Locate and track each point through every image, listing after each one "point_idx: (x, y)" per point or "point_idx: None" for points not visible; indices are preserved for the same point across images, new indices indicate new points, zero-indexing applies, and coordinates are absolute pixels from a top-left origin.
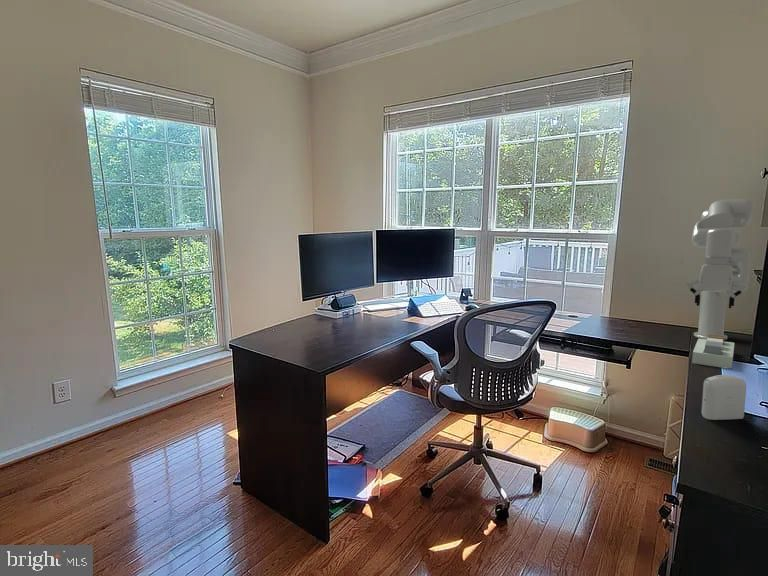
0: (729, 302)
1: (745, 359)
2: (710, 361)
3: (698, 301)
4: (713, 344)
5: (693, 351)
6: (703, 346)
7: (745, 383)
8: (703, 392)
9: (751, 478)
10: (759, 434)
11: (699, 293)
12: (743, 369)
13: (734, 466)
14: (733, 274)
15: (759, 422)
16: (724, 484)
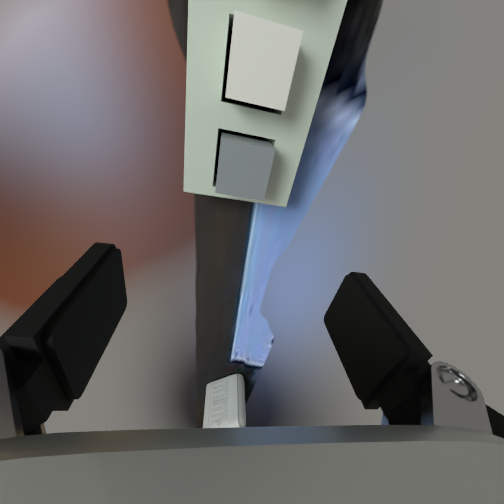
0: (342, 359)
1: (359, 37)
2: None
3: (104, 339)
4: (243, 171)
5: (184, 185)
6: (217, 75)
7: (244, 426)
8: (204, 414)
9: None
10: (250, 392)
11: (19, 388)
12: (306, 183)
13: None
14: None
15: (256, 376)
16: None
